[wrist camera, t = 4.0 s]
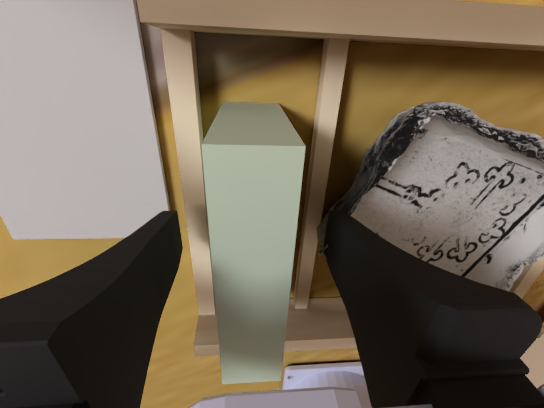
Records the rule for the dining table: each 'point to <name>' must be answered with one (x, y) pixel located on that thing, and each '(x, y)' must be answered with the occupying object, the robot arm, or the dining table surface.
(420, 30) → the birch rack
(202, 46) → the dining table surface
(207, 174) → the pale green block
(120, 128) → the light gray panel
